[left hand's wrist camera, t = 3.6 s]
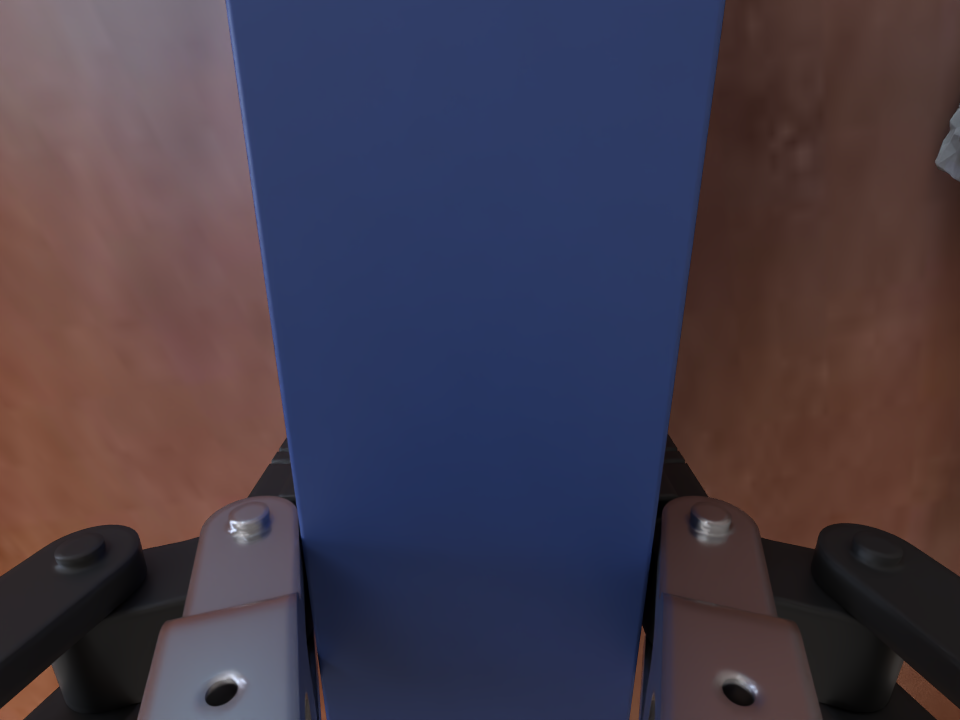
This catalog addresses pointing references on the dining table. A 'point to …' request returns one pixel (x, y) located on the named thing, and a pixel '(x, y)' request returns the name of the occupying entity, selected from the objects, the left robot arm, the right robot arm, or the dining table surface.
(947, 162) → the mineral specimen
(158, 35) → the dining table surface
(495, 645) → the bar
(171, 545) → the left robot arm
